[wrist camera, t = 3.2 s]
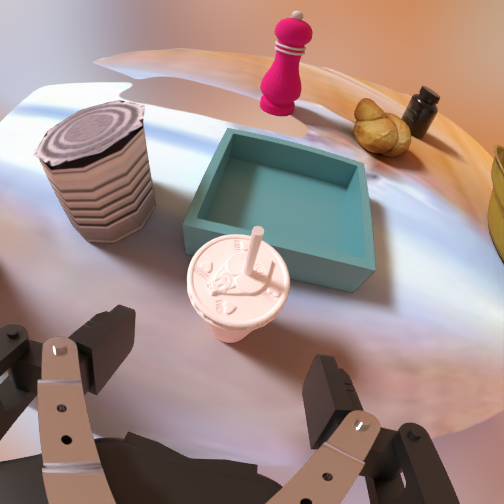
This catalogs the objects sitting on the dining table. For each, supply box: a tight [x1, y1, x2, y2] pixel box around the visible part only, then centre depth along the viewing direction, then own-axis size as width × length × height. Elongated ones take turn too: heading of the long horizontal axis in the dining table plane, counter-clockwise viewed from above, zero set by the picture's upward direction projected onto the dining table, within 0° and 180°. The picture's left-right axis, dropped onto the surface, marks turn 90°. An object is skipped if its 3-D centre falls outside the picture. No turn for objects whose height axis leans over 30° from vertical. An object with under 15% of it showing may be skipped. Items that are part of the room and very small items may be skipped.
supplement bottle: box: [401, 86, 440, 138], centre depth 48 cm, size 7×7×12 cm
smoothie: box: [187, 226, 290, 343], centre depth 19 cm, size 6×6×14 cm
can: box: [34, 100, 156, 243], centre depth 25 cm, size 11×11×12 cm
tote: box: [182, 128, 375, 293], centre depth 30 cm, size 18×16×5 cm
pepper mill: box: [260, 11, 312, 116], centre depth 38 cm, size 7×7×20 cm
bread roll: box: [353, 98, 411, 157], centre depth 42 cm, size 13×10×8 cm
